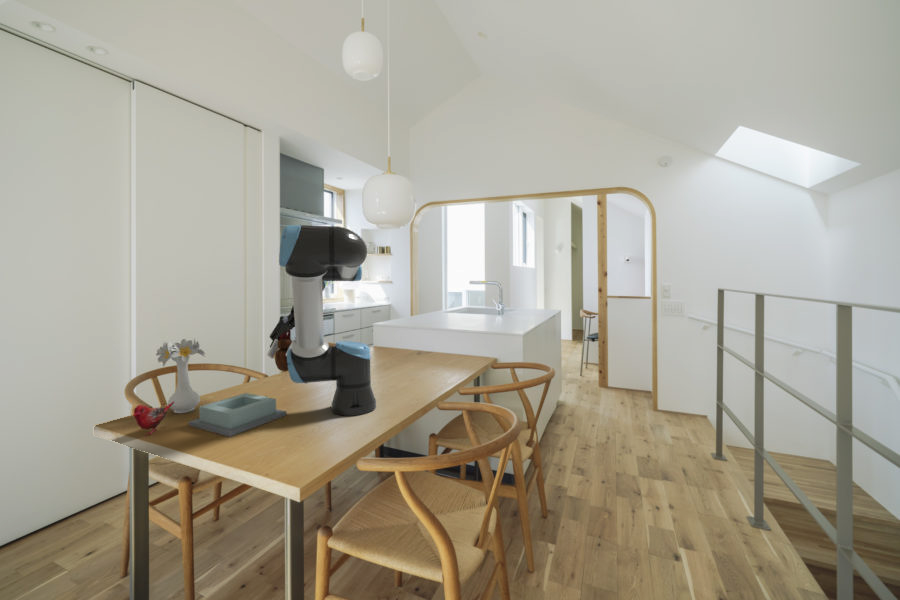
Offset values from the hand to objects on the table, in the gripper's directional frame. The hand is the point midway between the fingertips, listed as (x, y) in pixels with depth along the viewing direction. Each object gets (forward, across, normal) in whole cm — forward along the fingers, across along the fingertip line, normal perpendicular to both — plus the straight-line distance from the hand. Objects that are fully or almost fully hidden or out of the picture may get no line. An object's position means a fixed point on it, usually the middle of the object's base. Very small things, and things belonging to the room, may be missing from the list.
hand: (279, 356), depth 137 cm
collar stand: (+22, +6, -4) cm, 23 cm away
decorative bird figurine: (+31, +24, +5) cm, 40 cm away
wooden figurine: (+1, 0, -7) cm, 7 cm away
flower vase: (+19, +32, -7) cm, 38 cm away
